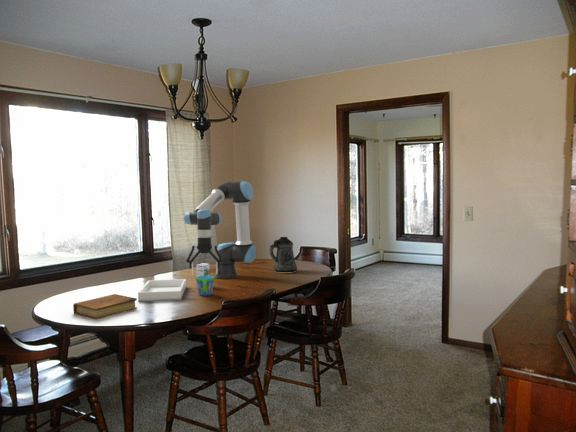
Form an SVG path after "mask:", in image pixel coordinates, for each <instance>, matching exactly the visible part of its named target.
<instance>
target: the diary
mask: <svg viewBox="0 0 576 432" xmlns="http://www.w3.org/2000/svg"><path fill="white" fill-rule="evenodd" d="M137 300H138V298H135V297H131V296H126V295H122V294H121V295H120V294H115V293H114V294H113V293H112V294H110V295H105V296H101V297H97V298H93V299H88V300H84V301H79V302H74V303H73V307H72V308H73V309H72V310H73V314H75V315H78V316H82V317H86V318H89V319H94V320H100V319H104V318H107V317H111V316H115V315H117V314H118V315H119V314H121V313H125V312H129V311H133V310H135V309H138V307H136V301H137Z"/></svg>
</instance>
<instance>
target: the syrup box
mask: <svg viewBox="0 0 576 432" xmlns="http://www.w3.org/2000/svg"><path fill="white" fill-rule="evenodd" d="M210 267H211V266H210V263H206V262H205V263H204V262H202V263H199V264H196V277H199V276H211V274H210V273H211V270H210V269H211V268H210Z"/></svg>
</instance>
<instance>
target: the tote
mask: <svg viewBox="0 0 576 432" xmlns="http://www.w3.org/2000/svg"><path fill="white" fill-rule="evenodd" d="M186 280H187V279H186V278H182V279H181V278H180V279H179V278H177V279H176V278H175V279H152V280H151V279H150V280H149V279H148V280H147V281H146V282H145V284H144V285H143V286H141V289H139V291H138V293H137V297H138V298H137V300H138V302H139V303H144V302H165V301H166V302H168V301H181V300H182V298H183V296H184V293H185V291H186V288H187V283H186V282H187V281H186Z"/></svg>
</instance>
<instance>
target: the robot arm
mask: <svg viewBox="0 0 576 432" xmlns="http://www.w3.org/2000/svg"><path fill="white" fill-rule="evenodd" d="M253 198H254V189H253V186H252V184H251V183H250V182H248V181H226V182H223V183H221V184H219V185H218V186H216V187H215V188H214V189H212V191H211V193H210V195H208V196H207V198H205V199H204V200H203V201H202V202H201V203H200V204H199V205H198V206H197V207H196V208H195V209H194V210H193V211H186V212H185V214H184V216H183V220H184V221H183V222H184V223H185V224H186V225H191V226H194V225H195V226H197V245H191V251H190V252H189V255H187V256H188V257H187V258H186V261H185V262H186V263H189V270H191V275H192V276H193V275H194V262H193V261H195V259H196V258H197V257H199V255H200V254H209V255H211V257H212V258H213V259H214V260H215V261H216V262H215V275H214V278H216V279H219V280H220V279H223V280H224V279H226V280H228V279H229V280H230V279H236V278H238V276H239V275H238V270H237V268H236V263H244V264H247V263H249V264H251V263H252V262H254V261H255V258H256V256H257V247H256V246H255V245H254V243H253V241H252V240H251V234H250V231H251V230H250V216H249V215H250V214H249V212H250V210H249V204H250V203H251V200H252V199H253ZM227 200H232V204H233V205H234V206H235V207H234V208H235V222H236V223H235V225H236V241H235V242H234V241H233V242H232V241H231V242H224V243H220V244H219V243H218V245H217V244H215V245H212V237H211V236H212V226H217V225H220V224H221V223H222V221H223V216H222V214H221V213H220V212H216V211H214V212H212V210H214V209H215V208H216V207H217V206H218V205H219V204H220V203H223V202H224V201H227ZM196 249H197V250H198V251H197V252H196V253H195V254H194V256H192V255H193V253H194V251H195V250H196ZM212 249H213V250H214V251H215V253H216V255H217V256H216V255H215V254H214V253H213V252H212ZM191 257H192V258H191Z"/></svg>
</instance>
